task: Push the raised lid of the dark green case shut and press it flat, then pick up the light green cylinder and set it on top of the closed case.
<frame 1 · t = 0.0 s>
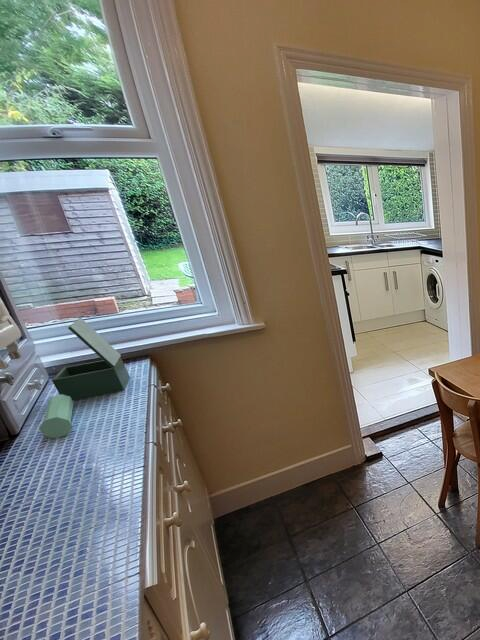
hand: (10, 363, 107), 19 cm above the worktop, tool pointing down, fingers open, 8 cm apart
case: (99, 389, 138), on the worktop
case lid: (96, 342, 134), point 15 cm above the worktop, hinge at 70.0°
light green cylinder: (64, 421, 117), on the worktop
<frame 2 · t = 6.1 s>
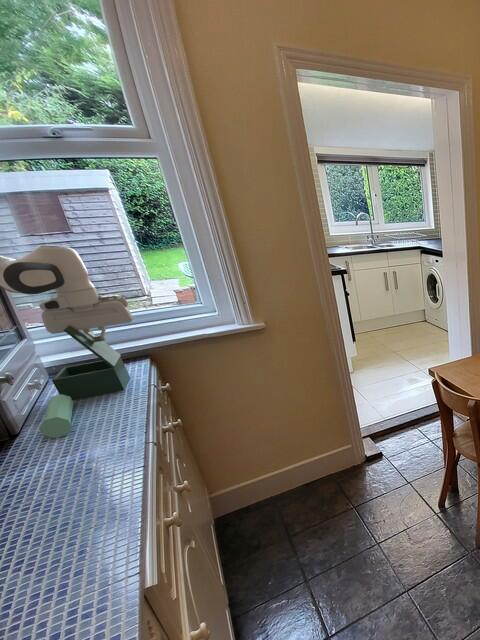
hand: (100, 341, 134), 16 cm above the worktop, tool pointing down, fingers closed
case lid: (94, 343, 133), point 15 cm above the worktop, hinge at 65.1°, touching gripper
everything else where it was.
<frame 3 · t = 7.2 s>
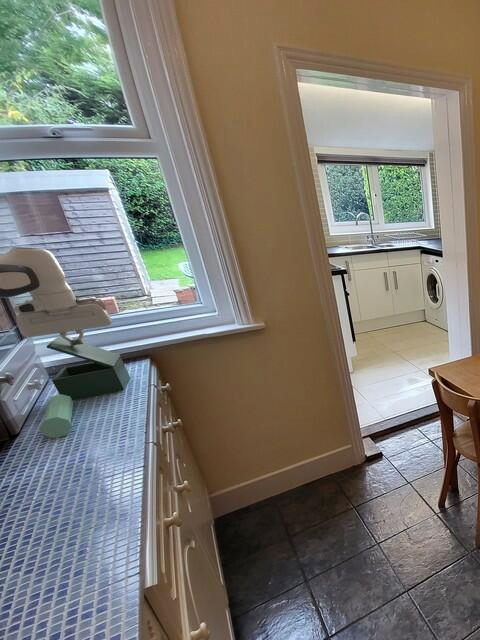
hand: (78, 344, 131), 16 cm above the worktop, tool pointing down, fingers closed
case lid: (86, 351, 133), point 13 cm above the worktop, hinge at 39.8°, touching gripper
everything else where it was.
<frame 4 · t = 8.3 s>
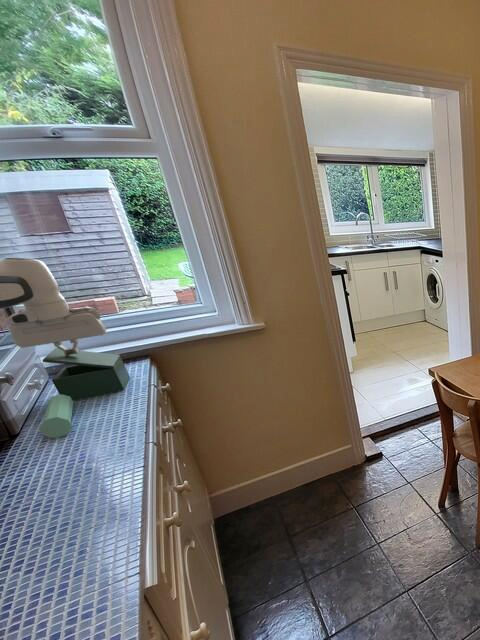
hand: (72, 353, 131), 13 cm above the worktop, tool pointing down, fingers closed
case lid: (84, 358, 133), point 11 cm above the worktop, hinge at 22.3°, touching gripper
everything else where it was.
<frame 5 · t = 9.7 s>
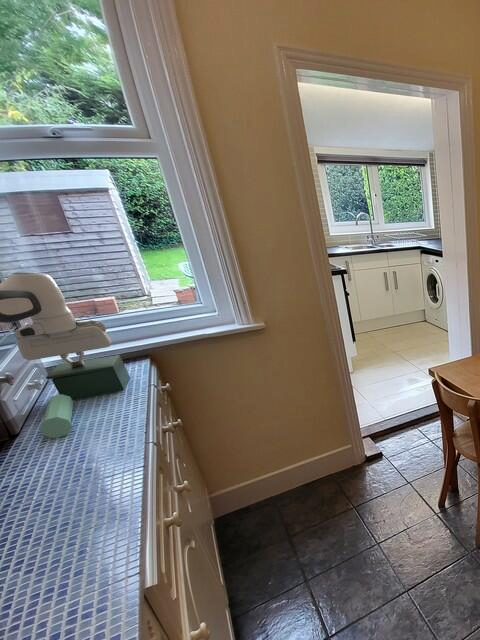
hand: (78, 365, 133), 9 cm above the worktop, tool pointing down, fingers closed
case lid: (85, 366, 134), point 8 cm above the worktop, hinge at 1.8°, touching gripper
everything else where it was.
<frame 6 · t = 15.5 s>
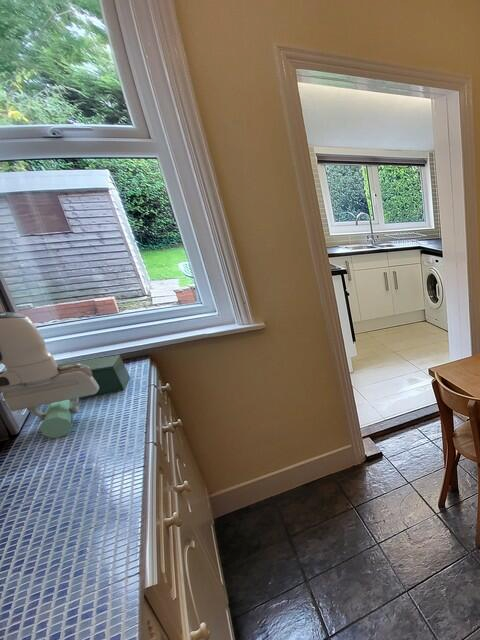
hand: (60, 416, 117), 2 cm above the worktop, tool pointing down, fingers closed on light green cylinder, 5 cm apart
case lid: (85, 366, 134), point 8 cm above the worktop, hinge at 1.8°
light green cylinder: (64, 421, 117), on the worktop, touching gripper
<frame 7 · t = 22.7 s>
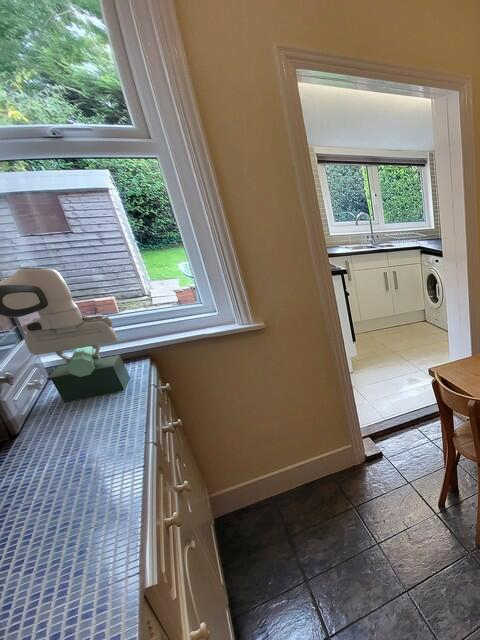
hand: (84, 361, 133), 10 cm above the worktop, tool pointing down, fingers closed on light green cylinder, 5 cm apart
case lid: (86, 366, 134), point 8 cm above the worktop, hinge at -0.1°, touching light green cylinder
light green cylinder: (87, 366, 134), point 8 cm above the worktop, touching case lid, gripper
when the fingers open (10 cm above the worktop, at t = 22.7 s): light green cylinder stays where it is, resting on case lid.
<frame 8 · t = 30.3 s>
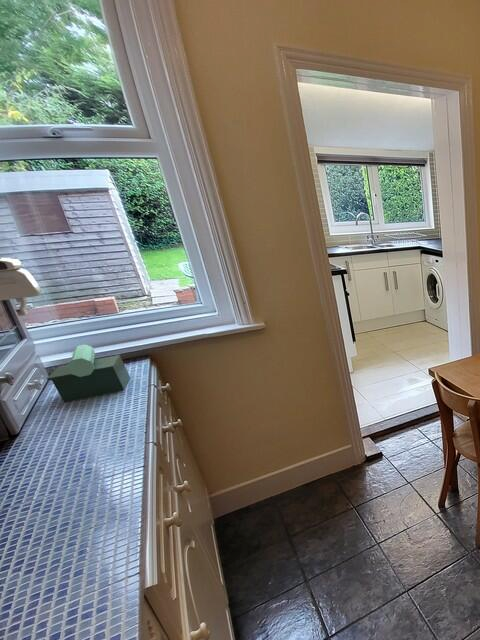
light green cylinder: (87, 366, 134), point 8 cm above the worktop, touching case lid
everything else where it was.
at the end: case lid at +0° (first picture: +70°); light green cylinder inside the target area on the case (0.0 cm from its centre), point 8.4 cm above the case's base; light green cylinder tilted 1° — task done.
